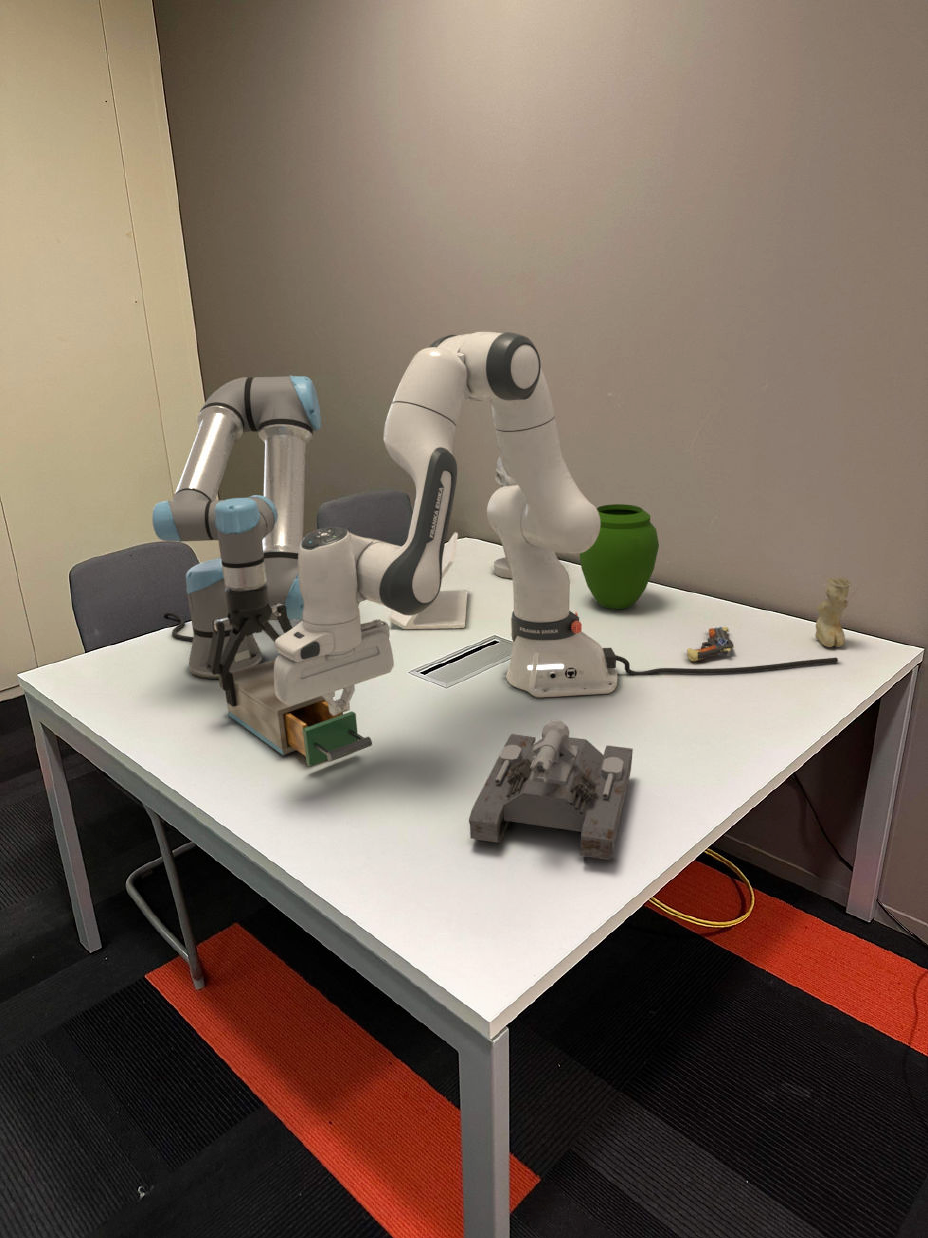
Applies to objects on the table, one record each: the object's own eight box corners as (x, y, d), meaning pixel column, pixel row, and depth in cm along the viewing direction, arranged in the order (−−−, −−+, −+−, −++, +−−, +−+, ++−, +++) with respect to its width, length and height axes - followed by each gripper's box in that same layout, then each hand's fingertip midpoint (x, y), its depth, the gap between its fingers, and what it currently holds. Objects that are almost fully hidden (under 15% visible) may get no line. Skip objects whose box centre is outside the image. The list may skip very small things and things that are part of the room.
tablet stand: (467, 593, 225) (465, 531, 219) (465, 628, 202) (462, 559, 196) (399, 594, 226) (395, 532, 220) (388, 629, 203) (384, 560, 197)
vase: (599, 587, 227) (601, 497, 218) (668, 600, 216) (673, 505, 208) (562, 608, 212) (564, 513, 204) (634, 623, 202) (639, 523, 193)
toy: (511, 760, 144) (510, 679, 139) (631, 775, 138) (635, 691, 133) (469, 848, 121) (466, 755, 116) (610, 870, 116) (614, 774, 110)
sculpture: (821, 649, 184) (830, 583, 179) (808, 637, 191) (816, 573, 185) (848, 649, 184) (858, 582, 179) (834, 636, 191) (843, 572, 185)
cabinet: (336, 735, 153) (332, 692, 150) (282, 755, 147) (277, 710, 144) (279, 698, 169) (274, 659, 166) (228, 715, 163) (222, 674, 160)
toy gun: (688, 652, 178) (737, 649, 176) (682, 625, 196) (728, 622, 194) (688, 664, 179) (738, 661, 177) (683, 637, 197) (728, 634, 195)
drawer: (378, 759, 142) (375, 724, 140) (328, 780, 136) (324, 743, 134) (300, 710, 161) (296, 679, 159) (254, 726, 156) (249, 694, 154)
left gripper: (293, 567, 164) (304, 671, 172) (175, 594, 151) (193, 706, 158) (312, 575, 159) (323, 683, 166) (192, 604, 145) (210, 720, 153)
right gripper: (377, 611, 141) (382, 687, 146) (264, 643, 129) (274, 724, 134) (399, 621, 137) (403, 699, 142) (284, 655, 125) (293, 739, 130)
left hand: (260, 694), depth 162 cm, fingers closed on cabinet, 11 cm apart
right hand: (339, 712), depth 138 cm, fingers closed
